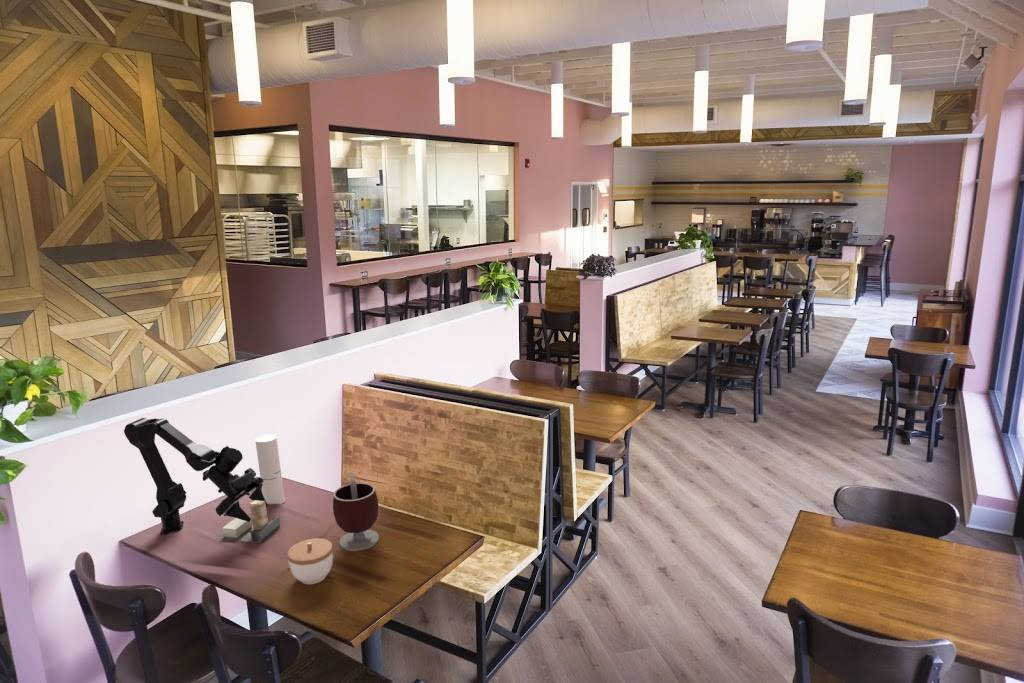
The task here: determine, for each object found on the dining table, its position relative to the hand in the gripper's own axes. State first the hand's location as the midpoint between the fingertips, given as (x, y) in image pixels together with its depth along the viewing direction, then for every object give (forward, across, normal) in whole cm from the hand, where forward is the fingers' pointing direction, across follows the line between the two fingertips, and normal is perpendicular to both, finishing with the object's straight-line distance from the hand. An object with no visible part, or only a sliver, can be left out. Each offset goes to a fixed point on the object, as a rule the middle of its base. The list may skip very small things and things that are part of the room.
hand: (258, 514), depth 220 cm
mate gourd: (+29, +4, -17) cm, 34 cm away
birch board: (+5, 0, +5) cm, 7 cm away
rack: (+2, 0, +9) cm, 10 cm away
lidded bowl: (+27, -18, -14) cm, 35 cm away
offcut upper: (-2, 0, +10) cm, 10 cm away
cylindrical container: (-1, +23, +14) cm, 27 cm away
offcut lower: (-2, 0, +11) cm, 11 cm away
